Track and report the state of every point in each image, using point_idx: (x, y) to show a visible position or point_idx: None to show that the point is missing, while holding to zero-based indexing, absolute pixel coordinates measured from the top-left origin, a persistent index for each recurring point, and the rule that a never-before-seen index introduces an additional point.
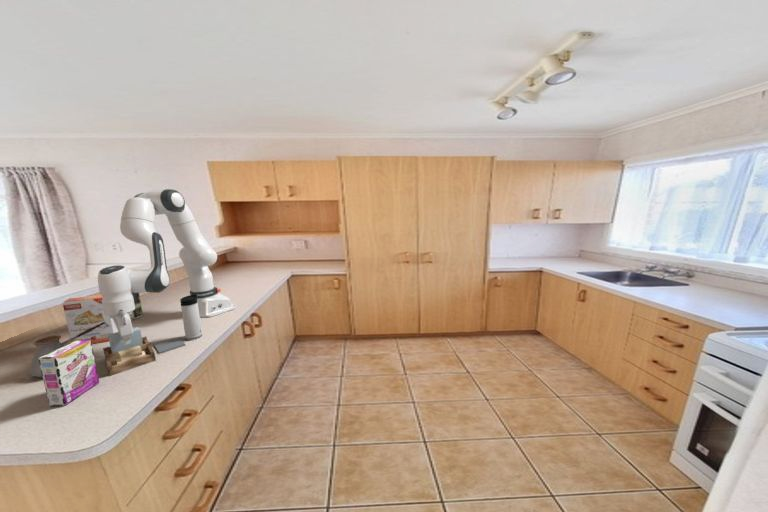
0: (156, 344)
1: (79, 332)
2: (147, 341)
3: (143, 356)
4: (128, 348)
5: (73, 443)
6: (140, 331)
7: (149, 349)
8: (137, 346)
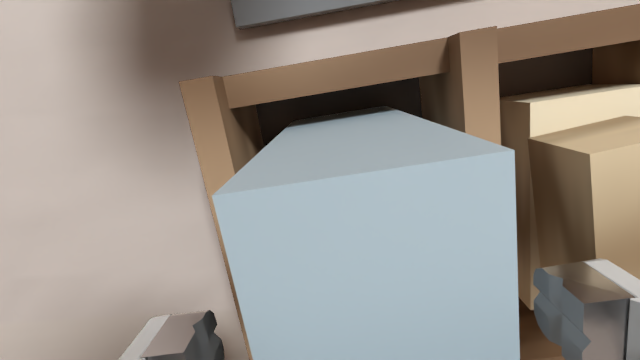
0: (252, 4)
1: None
2: (312, 68)
3: None
4: (599, 257)
5: None
6: (488, 142)
7: (615, 42)
8: (627, 166)
